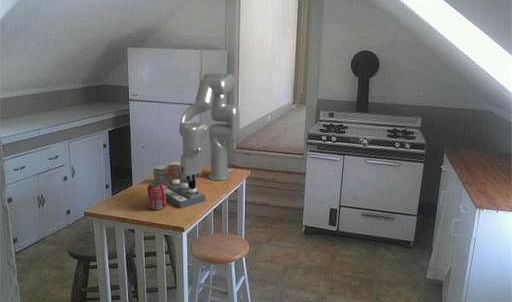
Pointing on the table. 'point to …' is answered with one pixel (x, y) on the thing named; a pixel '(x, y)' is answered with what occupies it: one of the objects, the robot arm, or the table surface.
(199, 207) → the table surface
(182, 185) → the button middle
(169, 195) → the button board
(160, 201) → the beverage can
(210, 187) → the table surface
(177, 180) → the button
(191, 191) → the button
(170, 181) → the stack of blocks
